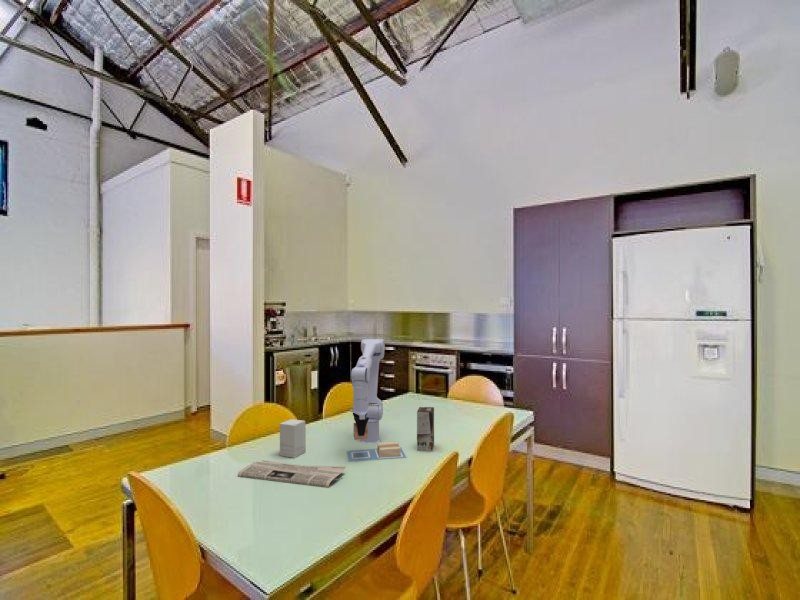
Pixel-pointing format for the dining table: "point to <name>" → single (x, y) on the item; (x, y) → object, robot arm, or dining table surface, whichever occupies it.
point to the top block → (358, 435)
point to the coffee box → (425, 429)
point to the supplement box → (292, 438)
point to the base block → (388, 449)
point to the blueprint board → (368, 455)
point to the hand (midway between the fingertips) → (360, 433)
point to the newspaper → (292, 473)
